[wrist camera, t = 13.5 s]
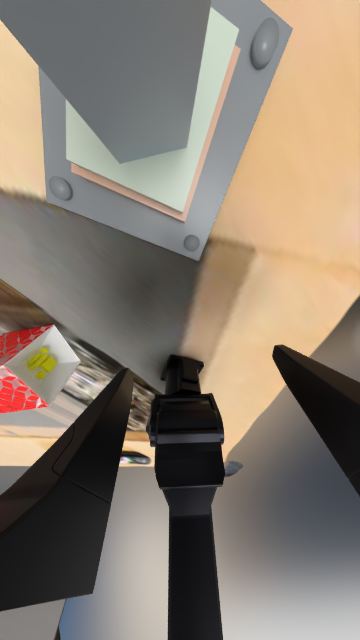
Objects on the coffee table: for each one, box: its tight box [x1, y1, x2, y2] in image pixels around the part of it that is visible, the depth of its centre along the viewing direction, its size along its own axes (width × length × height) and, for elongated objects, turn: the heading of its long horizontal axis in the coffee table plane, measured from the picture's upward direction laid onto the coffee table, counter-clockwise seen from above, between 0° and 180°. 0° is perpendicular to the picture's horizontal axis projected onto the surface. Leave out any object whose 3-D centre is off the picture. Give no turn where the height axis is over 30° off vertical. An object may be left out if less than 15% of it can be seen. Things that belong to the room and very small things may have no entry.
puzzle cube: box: [0, 324, 81, 413], centre depth 22 cm, size 8×8×8 cm
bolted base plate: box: [39, 0, 293, 261], centre depth 11 cm, size 16×16×4 cm
